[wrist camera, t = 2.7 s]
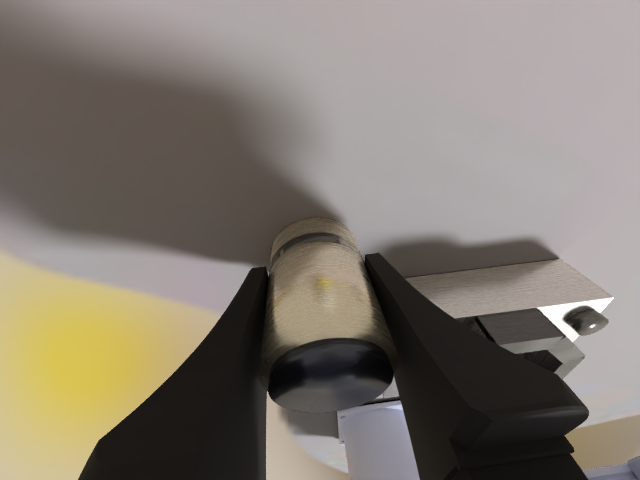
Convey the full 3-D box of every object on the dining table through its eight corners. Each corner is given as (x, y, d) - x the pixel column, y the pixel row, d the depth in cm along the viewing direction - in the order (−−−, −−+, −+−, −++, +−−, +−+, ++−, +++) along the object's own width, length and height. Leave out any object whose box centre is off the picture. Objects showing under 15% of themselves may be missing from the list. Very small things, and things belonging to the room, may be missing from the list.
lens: (356, 279, 14) (395, 406, 9) (279, 289, 14) (272, 423, 9) (357, 212, 11) (413, 334, 6) (262, 222, 11) (240, 357, 6)
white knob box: (509, 336, 19) (560, 400, 16) (371, 355, 19) (391, 425, 15) (560, 259, 15) (650, 323, 11) (378, 281, 14) (409, 356, 11)
